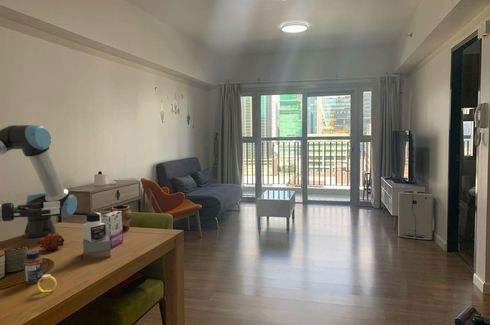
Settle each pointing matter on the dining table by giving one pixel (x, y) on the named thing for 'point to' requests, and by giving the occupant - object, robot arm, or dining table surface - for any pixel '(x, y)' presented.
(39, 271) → the supplement bottle
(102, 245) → the slate block
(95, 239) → the medicine bottle
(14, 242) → the dining table surface
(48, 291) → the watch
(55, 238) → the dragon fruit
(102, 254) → the clear shallow container
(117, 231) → the candy bar box
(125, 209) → the decorative planter
